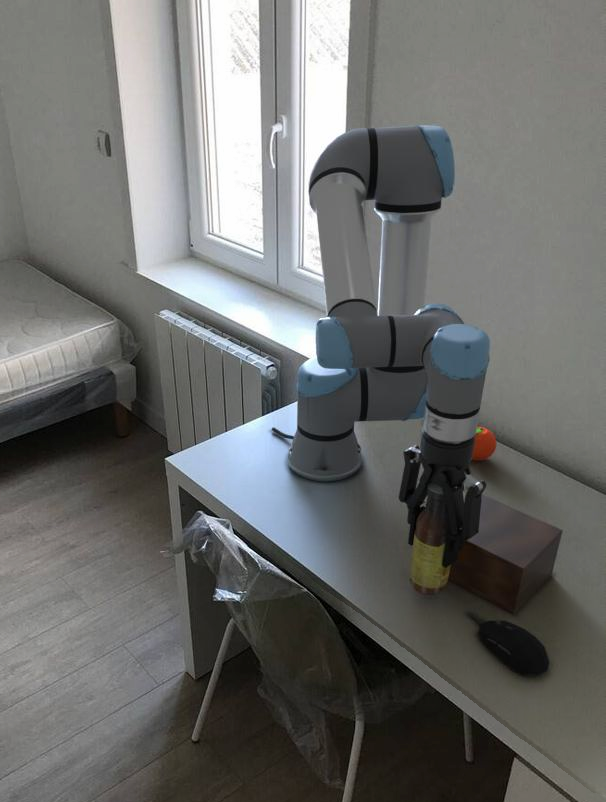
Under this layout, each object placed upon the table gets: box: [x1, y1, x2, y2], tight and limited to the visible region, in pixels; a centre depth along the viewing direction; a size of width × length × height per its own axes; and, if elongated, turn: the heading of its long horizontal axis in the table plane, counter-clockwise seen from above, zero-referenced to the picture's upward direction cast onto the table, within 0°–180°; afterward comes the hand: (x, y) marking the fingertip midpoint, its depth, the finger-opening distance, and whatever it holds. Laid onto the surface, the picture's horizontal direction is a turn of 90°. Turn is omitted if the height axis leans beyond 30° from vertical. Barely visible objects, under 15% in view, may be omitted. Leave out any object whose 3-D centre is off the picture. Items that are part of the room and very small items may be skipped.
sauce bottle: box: [409, 483, 451, 596], centre depth 124 cm, size 6×6×20 cm
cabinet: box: [448, 493, 563, 614], centre depth 131 cm, size 15×13×10 cm
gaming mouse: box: [469, 613, 550, 676], centre depth 120 cm, size 6×15×4 cm, turn 30°
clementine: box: [471, 426, 497, 461], centre depth 161 cm, size 8×7×7 cm
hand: (432, 551), depth 125 cm, fingers closed on sauce bottle, 6 cm apart
